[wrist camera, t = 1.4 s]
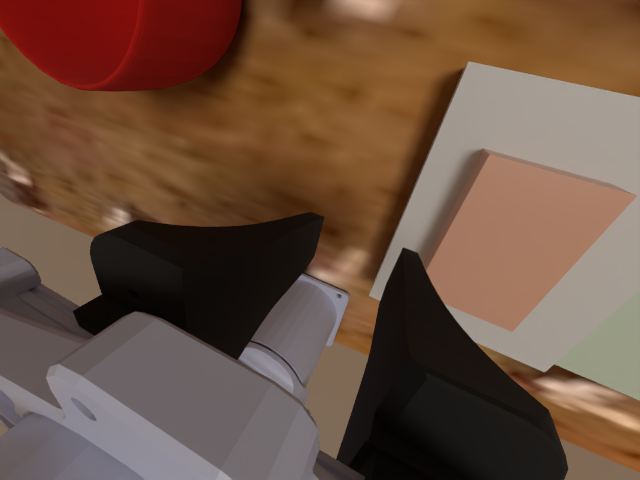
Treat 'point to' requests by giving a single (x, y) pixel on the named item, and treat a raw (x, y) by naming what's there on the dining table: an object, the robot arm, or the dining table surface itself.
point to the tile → (517, 235)
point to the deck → (546, 149)
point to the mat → (611, 351)
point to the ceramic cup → (121, 39)
